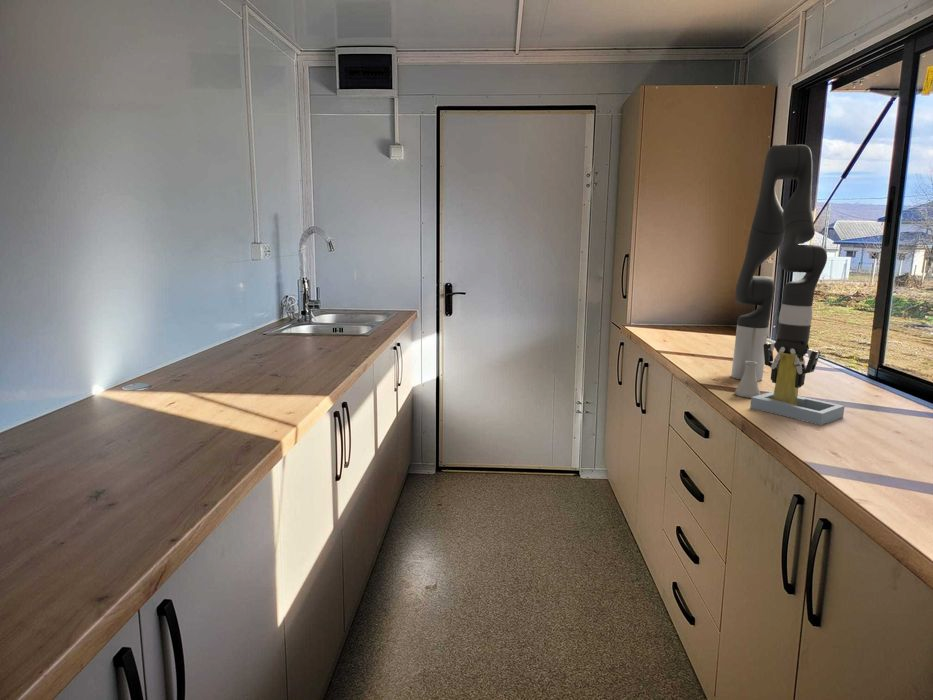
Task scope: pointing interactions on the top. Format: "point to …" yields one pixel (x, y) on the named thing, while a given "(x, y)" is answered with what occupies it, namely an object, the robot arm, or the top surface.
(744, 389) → the flask
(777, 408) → the keyhole board
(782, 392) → the vase
